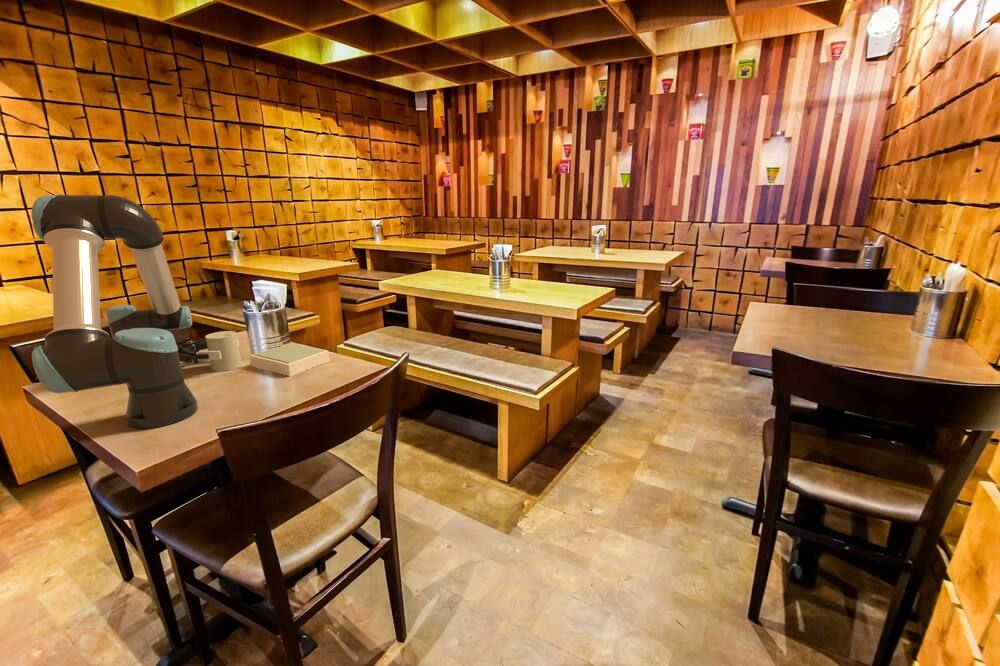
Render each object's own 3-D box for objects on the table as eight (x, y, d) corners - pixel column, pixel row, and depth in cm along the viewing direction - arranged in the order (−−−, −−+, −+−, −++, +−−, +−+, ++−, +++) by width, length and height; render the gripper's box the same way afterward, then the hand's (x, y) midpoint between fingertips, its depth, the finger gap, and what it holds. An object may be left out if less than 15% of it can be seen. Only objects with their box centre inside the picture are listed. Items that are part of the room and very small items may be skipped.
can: (232, 371, 149) (226, 337, 146) (205, 371, 149) (198, 337, 146) (247, 362, 158) (242, 329, 155) (222, 362, 158) (215, 329, 155)
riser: (329, 361, 158) (328, 349, 157) (290, 376, 145) (288, 363, 143) (291, 353, 167) (290, 341, 166) (251, 366, 154) (249, 354, 153)
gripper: (185, 350, 163) (246, 347, 165) (141, 375, 139) (213, 372, 141) (180, 330, 161) (243, 328, 163) (135, 352, 137) (209, 349, 139)
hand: (229, 348), depth 152 cm, fingers open, 13 cm apart
